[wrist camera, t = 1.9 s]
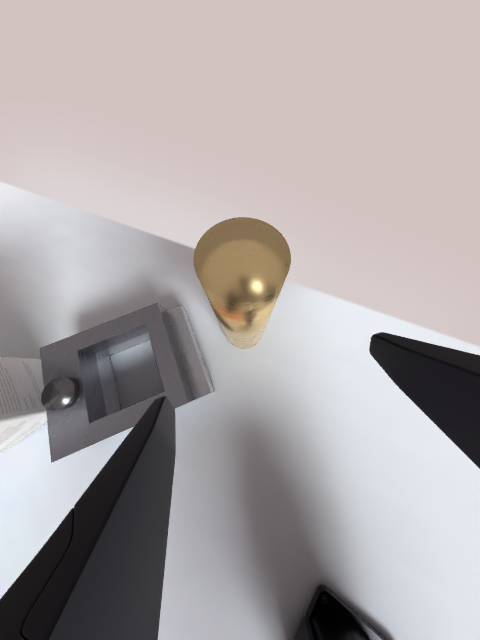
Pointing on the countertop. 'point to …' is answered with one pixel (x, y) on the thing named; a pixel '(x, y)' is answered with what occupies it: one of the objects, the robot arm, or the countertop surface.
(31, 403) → the skincare box
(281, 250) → the brass pin
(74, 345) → the gray open box
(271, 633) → the countertop surface
